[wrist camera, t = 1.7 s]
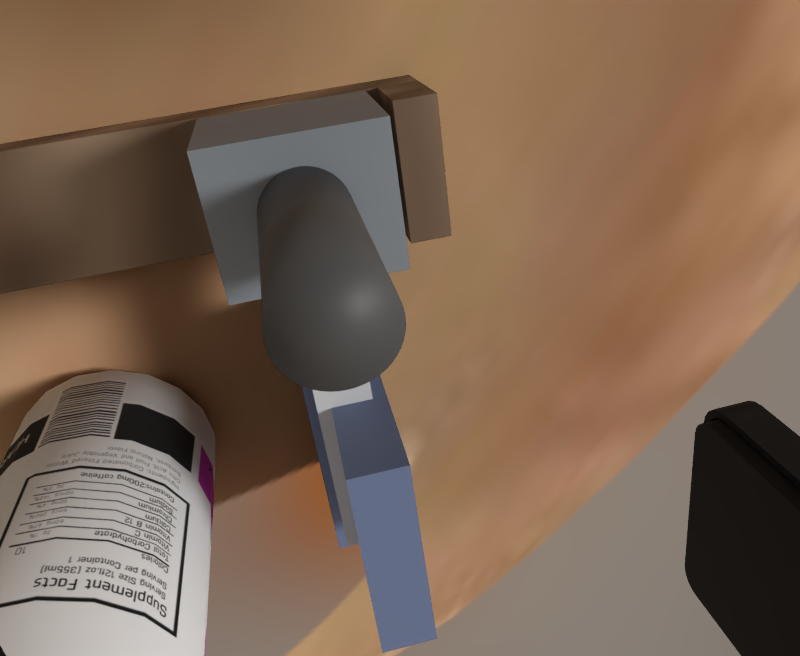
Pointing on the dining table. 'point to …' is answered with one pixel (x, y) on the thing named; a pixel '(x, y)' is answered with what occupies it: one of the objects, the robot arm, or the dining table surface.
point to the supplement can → (107, 521)
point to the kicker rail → (171, 188)
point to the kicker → (328, 309)
